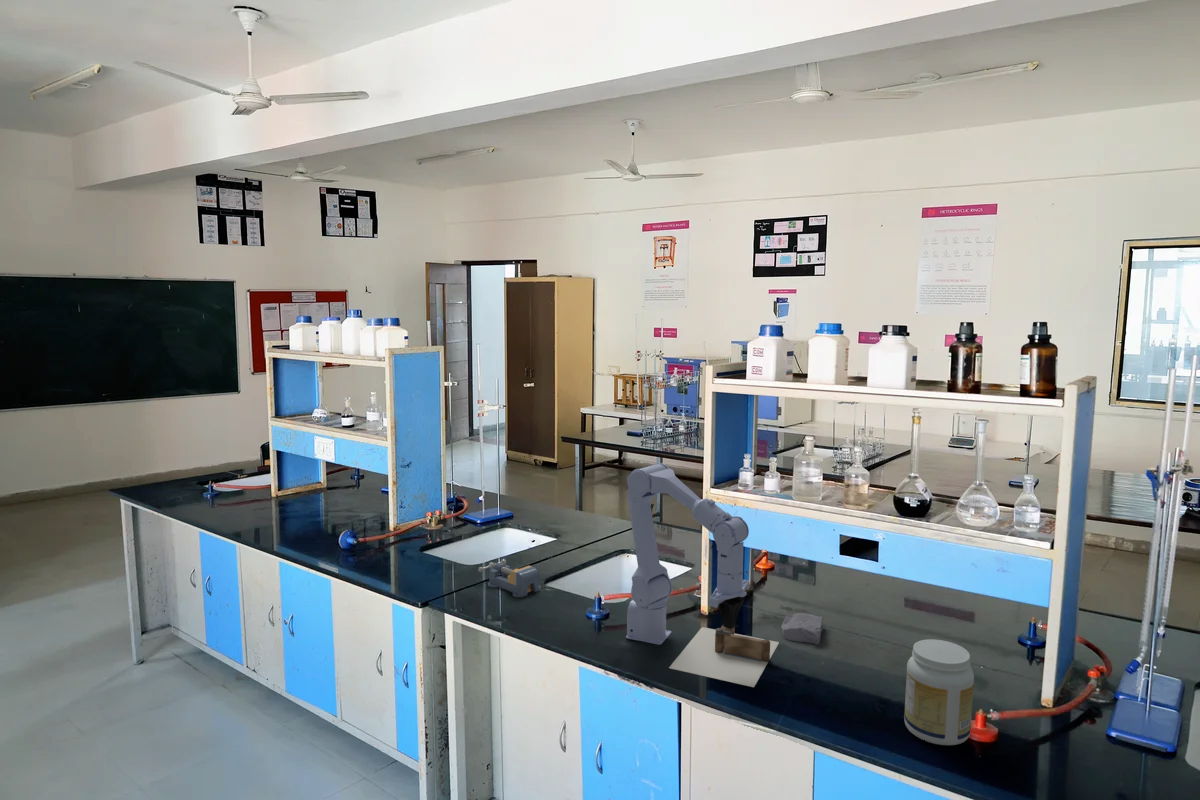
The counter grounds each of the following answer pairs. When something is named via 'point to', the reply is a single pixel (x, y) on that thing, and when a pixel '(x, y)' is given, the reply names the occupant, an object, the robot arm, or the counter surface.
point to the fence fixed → (721, 640)
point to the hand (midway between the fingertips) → (728, 627)
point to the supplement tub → (939, 692)
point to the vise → (513, 578)
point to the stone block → (802, 628)
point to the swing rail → (745, 646)
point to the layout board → (719, 660)
